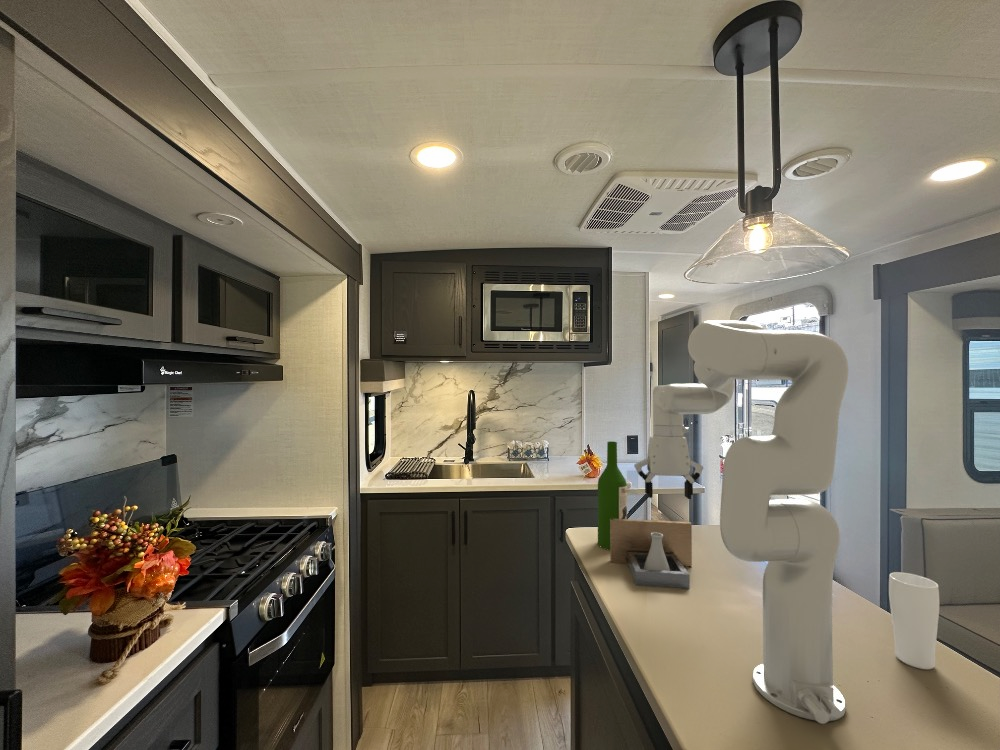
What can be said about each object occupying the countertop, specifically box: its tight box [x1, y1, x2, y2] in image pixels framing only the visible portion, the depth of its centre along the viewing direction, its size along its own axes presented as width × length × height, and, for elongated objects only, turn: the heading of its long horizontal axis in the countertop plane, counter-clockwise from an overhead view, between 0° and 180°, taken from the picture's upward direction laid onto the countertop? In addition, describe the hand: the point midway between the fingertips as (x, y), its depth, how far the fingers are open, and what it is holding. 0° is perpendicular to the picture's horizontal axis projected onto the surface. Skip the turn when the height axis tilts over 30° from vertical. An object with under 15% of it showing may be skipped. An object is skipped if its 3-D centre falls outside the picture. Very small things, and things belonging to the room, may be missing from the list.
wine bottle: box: [597, 441, 628, 550], centre depth 139 cm, size 9×9×32 cm
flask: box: [643, 532, 670, 571], centre depth 116 cm, size 7×7×10 cm
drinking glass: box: [888, 571, 940, 670], centre depth 81 cm, size 7×7×15 cm
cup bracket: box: [609, 518, 693, 589], centre depth 118 cm, size 15×22×12 cm
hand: (668, 497), depth 115 cm, fingers open, 9 cm apart
